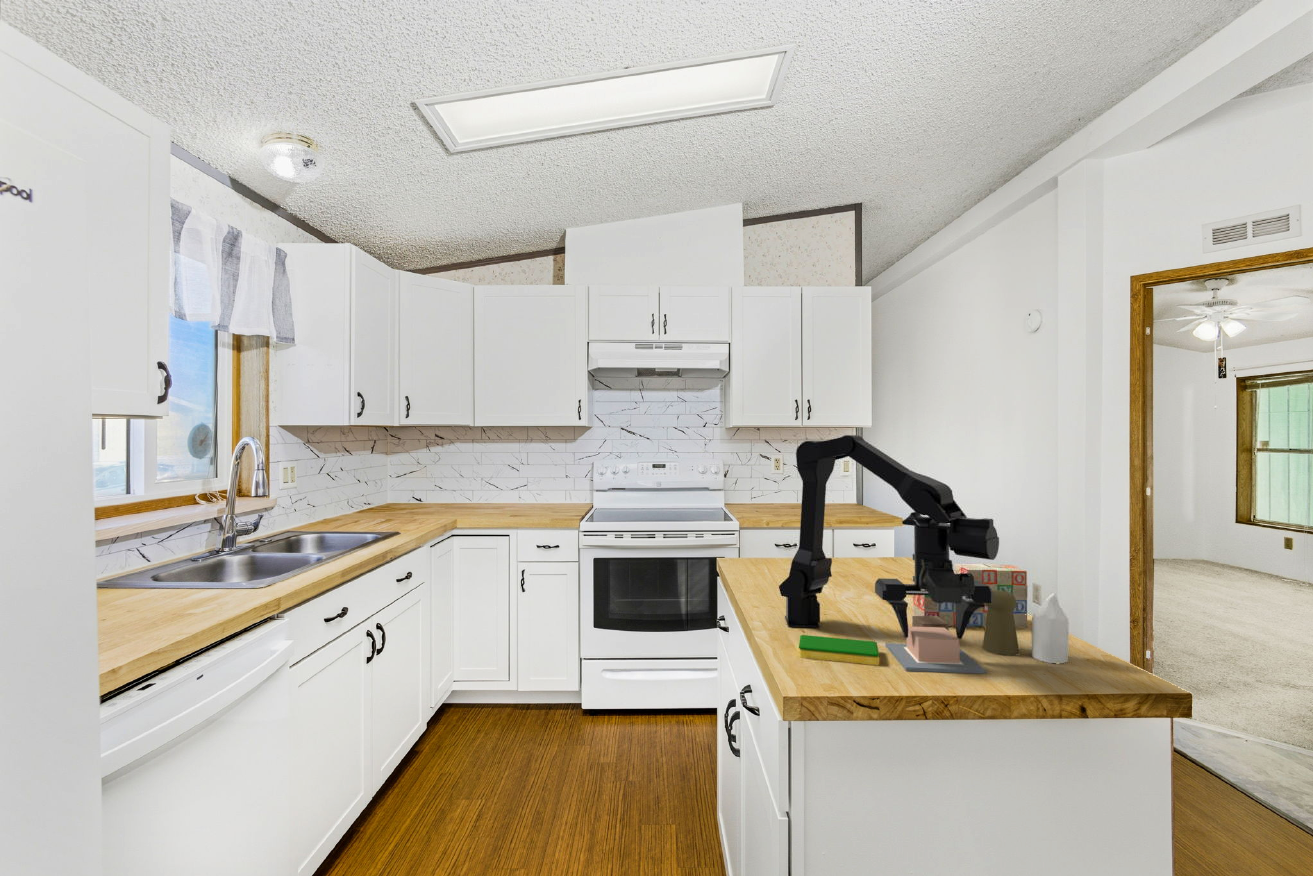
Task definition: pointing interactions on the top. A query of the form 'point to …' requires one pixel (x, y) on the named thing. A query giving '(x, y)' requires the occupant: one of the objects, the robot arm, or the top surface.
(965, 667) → the slate mat
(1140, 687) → the top surface
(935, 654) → the pink square block
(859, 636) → the top surface
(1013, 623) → the cork
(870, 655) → the dish sponge
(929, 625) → the walnut cube
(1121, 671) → the top surface
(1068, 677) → the top surface
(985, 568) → the stack of blocks
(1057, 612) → the white pointed cylinder
